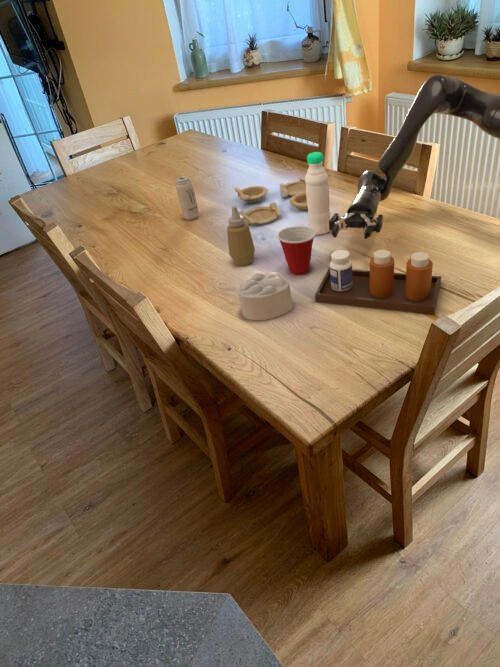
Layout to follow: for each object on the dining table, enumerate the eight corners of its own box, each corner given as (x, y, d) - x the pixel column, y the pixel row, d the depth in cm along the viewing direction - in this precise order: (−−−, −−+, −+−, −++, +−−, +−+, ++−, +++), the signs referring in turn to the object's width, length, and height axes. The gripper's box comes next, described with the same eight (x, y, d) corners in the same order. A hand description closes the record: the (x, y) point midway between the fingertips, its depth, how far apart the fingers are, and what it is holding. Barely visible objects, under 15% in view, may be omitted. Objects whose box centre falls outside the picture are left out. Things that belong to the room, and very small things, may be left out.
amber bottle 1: (395, 285, 130) (396, 248, 123) (391, 298, 126) (392, 260, 119) (372, 283, 132) (372, 246, 125) (367, 296, 128) (367, 259, 121)
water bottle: (314, 224, 165) (308, 149, 150) (334, 226, 162) (330, 150, 147) (305, 234, 161) (298, 158, 146) (326, 236, 158) (321, 158, 142)
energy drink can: (194, 221, 182) (184, 182, 172) (181, 220, 184) (170, 181, 175) (203, 214, 185) (194, 175, 176) (190, 213, 188) (180, 174, 179)
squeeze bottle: (248, 269, 149) (239, 214, 138) (226, 266, 153) (214, 211, 142) (261, 256, 154) (252, 201, 143) (239, 253, 158) (229, 199, 147)
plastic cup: (326, 266, 144) (323, 228, 137) (302, 283, 139) (298, 245, 131) (297, 256, 151) (294, 220, 143) (274, 272, 145) (268, 236, 138)
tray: (440, 283, 129) (441, 276, 127) (433, 314, 119) (434, 307, 118) (329, 274, 140) (329, 267, 139) (315, 301, 131) (315, 294, 129)
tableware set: (243, 231, 170) (241, 220, 167) (226, 200, 193) (224, 190, 190) (339, 206, 173) (339, 195, 171) (311, 179, 196) (311, 169, 194)
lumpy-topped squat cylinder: (296, 309, 129) (293, 281, 124) (250, 326, 127) (245, 298, 121) (279, 291, 137) (276, 264, 132) (236, 306, 135) (231, 279, 129)
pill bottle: (353, 280, 134) (352, 248, 128) (351, 292, 130) (351, 259, 124) (332, 280, 136) (330, 248, 130) (329, 292, 132) (327, 260, 126)
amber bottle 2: (431, 288, 126) (434, 250, 120) (428, 302, 122) (431, 263, 115) (407, 286, 129) (409, 249, 122) (403, 299, 125) (405, 261, 118)
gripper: (338, 196, 145) (323, 221, 134) (388, 197, 139) (376, 223, 128) (339, 219, 150) (324, 246, 138) (387, 221, 144) (376, 249, 133)
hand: (349, 235), depth 133 cm, fingers open, 8 cm apart
